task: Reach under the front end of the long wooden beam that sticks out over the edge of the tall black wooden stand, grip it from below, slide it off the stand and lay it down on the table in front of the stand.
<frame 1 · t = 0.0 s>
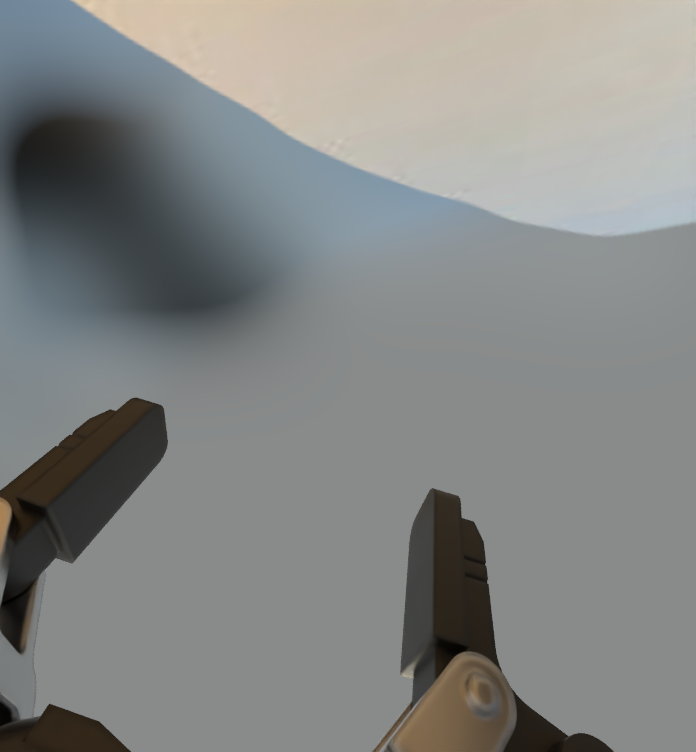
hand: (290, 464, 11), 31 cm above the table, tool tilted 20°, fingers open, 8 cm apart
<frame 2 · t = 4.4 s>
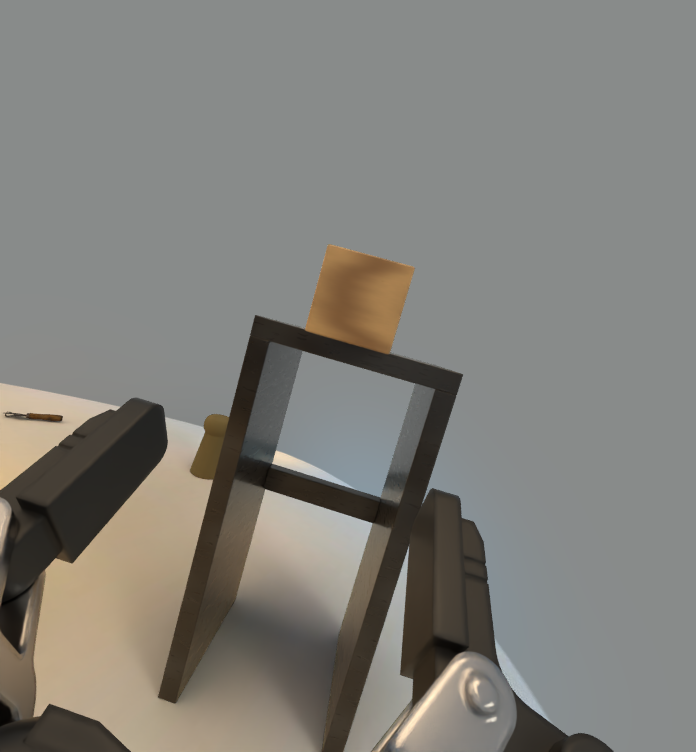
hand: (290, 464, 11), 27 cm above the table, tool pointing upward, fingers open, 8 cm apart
long wooden beam: (358, 344, 27), point 31 cm above the table, touching shelf stand
shelf stand: (270, 663, 34), on the table
can opener: (33, 419, 70), on the table
olive brown pawn: (206, 472, 69), on the table
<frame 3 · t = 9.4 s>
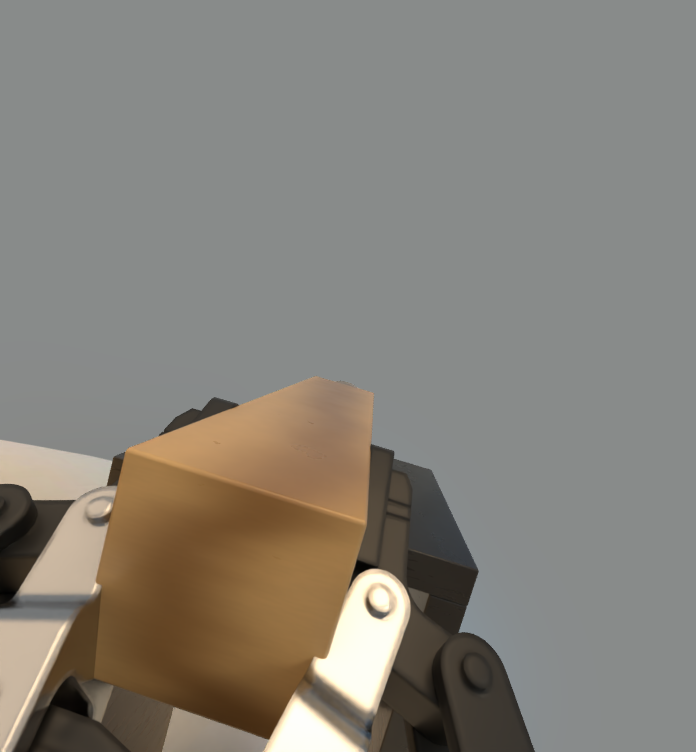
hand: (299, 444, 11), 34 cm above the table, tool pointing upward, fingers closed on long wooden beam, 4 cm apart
long wooden beam: (299, 496, 16), point 31 cm above the table, touching gripper, shelf stand
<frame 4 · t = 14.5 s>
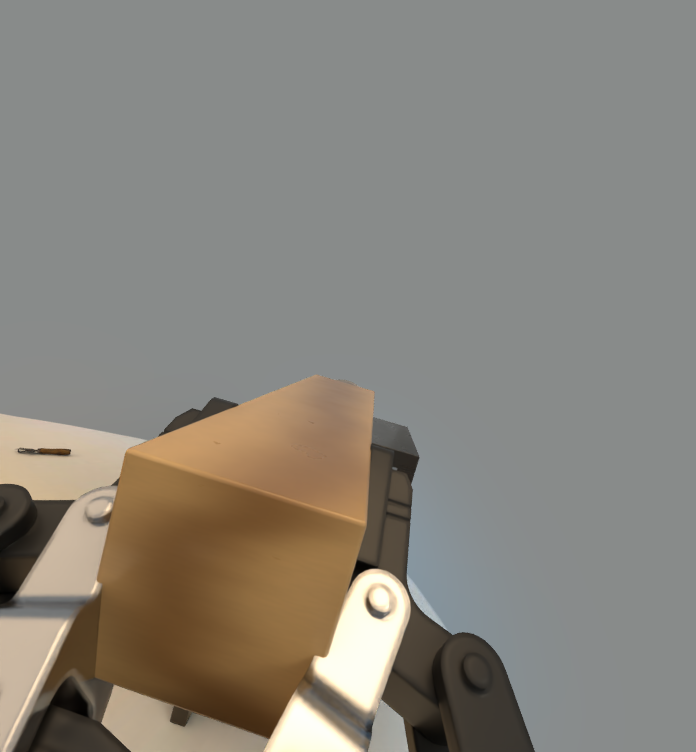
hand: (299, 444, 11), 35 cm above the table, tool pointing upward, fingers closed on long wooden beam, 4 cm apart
long wooden beam: (299, 495, 16), point 32 cm above the table, touching gripper
shelf stand: (264, 688, 40), on the table
can opener: (43, 453, 75), on the table
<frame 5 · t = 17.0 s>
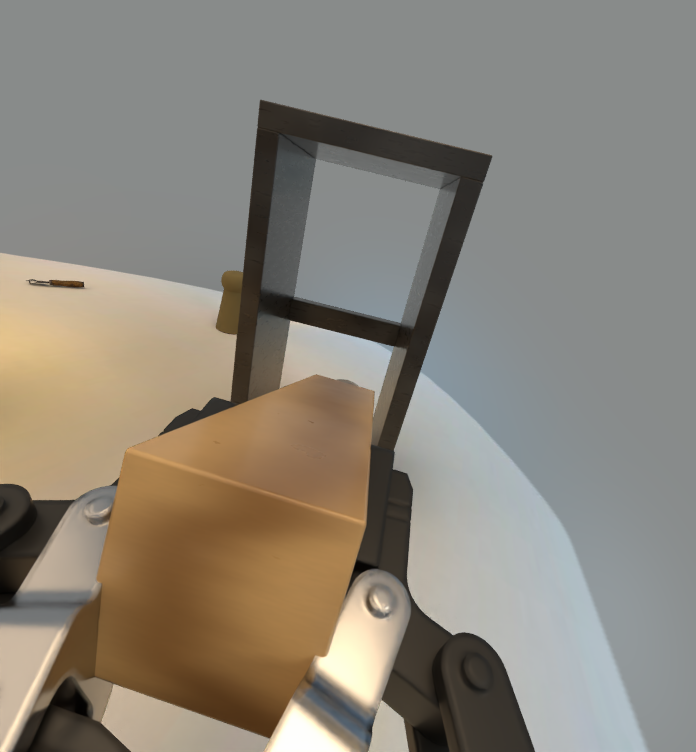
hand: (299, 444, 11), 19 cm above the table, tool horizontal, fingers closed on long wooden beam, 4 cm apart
long wooden beam: (299, 495, 16), point 15 cm above the table, tilted 20°, touching gripper
shelf stand: (309, 460, 41), on the table
can opener: (56, 286, 71), on the table
olive brown pawn: (231, 329, 72), on the table
when the fingers open (11 cm above the table, at t = 19.4 s): long wooden beam drops 6 cm, on the table.
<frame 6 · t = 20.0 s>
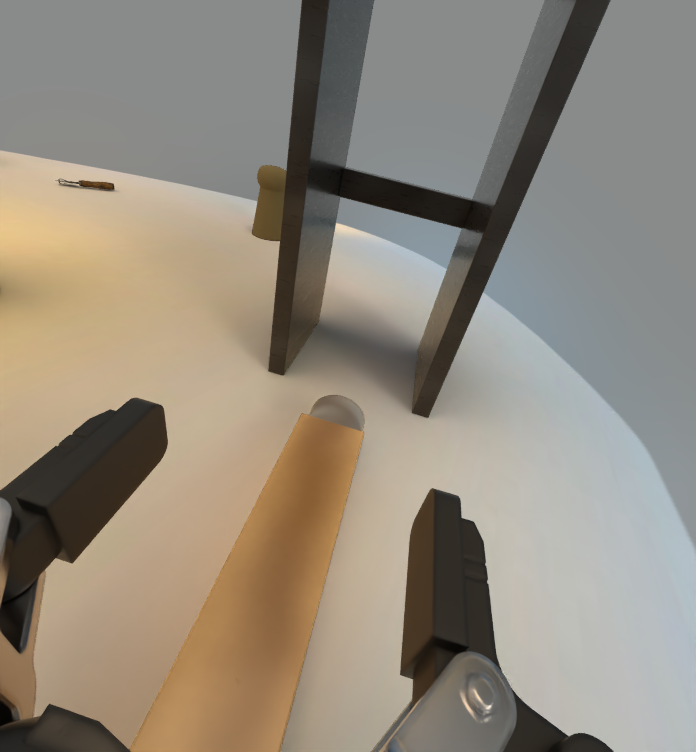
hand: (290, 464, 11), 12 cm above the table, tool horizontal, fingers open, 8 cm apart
long wooden beam: (270, 607, 18), on the table
shelf stand: (358, 360, 38), on the table
can opener: (87, 188, 67), on the table
olive brown pawn: (269, 236, 66), on the table
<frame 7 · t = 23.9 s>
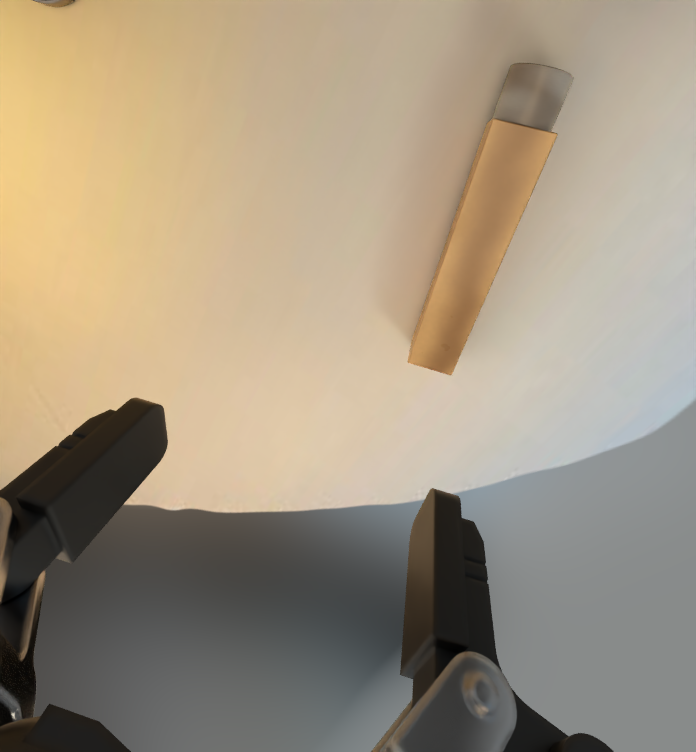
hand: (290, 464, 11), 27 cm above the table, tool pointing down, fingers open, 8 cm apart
long wooden beam: (466, 256, 32), on the table
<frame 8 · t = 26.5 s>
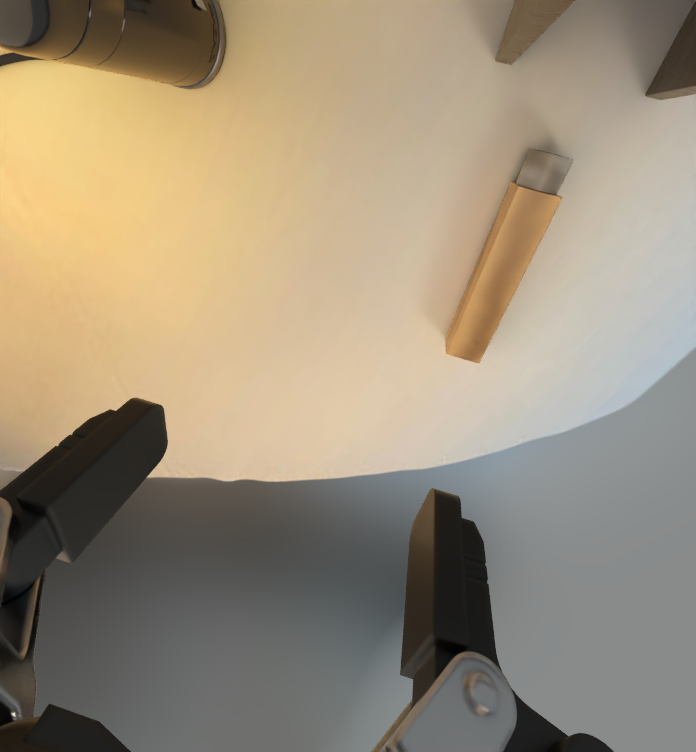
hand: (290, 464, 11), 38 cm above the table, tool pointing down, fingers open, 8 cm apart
long wooden beam: (491, 274, 43), on the table
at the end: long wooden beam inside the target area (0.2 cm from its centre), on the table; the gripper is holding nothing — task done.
